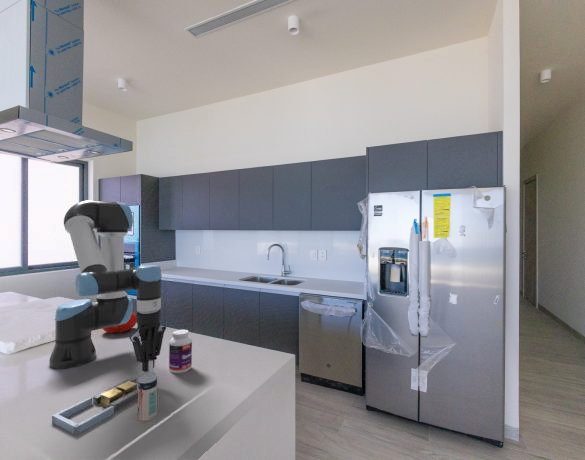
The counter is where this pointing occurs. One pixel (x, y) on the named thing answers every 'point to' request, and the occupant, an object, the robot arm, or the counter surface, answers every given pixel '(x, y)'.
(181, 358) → the pill bottle
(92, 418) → the chip tray
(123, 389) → the block
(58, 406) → the counter surface
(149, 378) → the beer can
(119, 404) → the slot rail
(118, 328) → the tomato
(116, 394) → the tan small block
